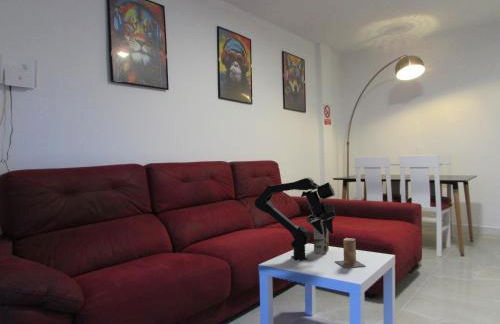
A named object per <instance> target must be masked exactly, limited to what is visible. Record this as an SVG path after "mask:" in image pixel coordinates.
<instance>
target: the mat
mask: <svg viewBox="0 0 500 324" xmlns="http://www.w3.org/2000/svg"><path fill="white" fill-rule="evenodd" d="M334 262H335V264H337V265H339V266H341V268H343V269H354V268H365V267H366V265H365V264H363V263H362V262H360V261H358V260H357V259H356V263H355V265H346V264H344V260H335V261H334Z"/></svg>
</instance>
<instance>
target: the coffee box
mask: <svg viewBox="0 0 500 324" xmlns="http://www.w3.org/2000/svg"><path fill="white" fill-rule="evenodd" d="M322 221H324V220H321V222H320V223H321V227H322V230H323V234H322V235H321V234H320V233H319V232H318V231H317V230H316V229H315V228H314V227H313V254H318V255H319V254H321V255H326V254H327V253H328V251H330V250H329V231H328V229H327V228H326V227H325V225H324V224H323V223H322Z"/></svg>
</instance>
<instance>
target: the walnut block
mask: <svg viewBox="0 0 500 324" xmlns="http://www.w3.org/2000/svg"><path fill="white" fill-rule="evenodd" d="M356 242H357V241H356V238H352V237H351V238H350V237H345V238H344V239H343V243H342V244H343V261H344V264H346V265H355V263H356V260H357V252H356V251H357V247H356V246H357V243H356Z"/></svg>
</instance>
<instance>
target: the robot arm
mask: <svg viewBox="0 0 500 324" xmlns="http://www.w3.org/2000/svg"><path fill="white" fill-rule="evenodd" d="M294 190H295V191H302V194H301V196H300V197H301V198H304V197H305V198H306V201H307V204H308V206H309V207H308V208H307V209H308V210H311V214H310V215H308V216H307V217H306V219H305V220H306V223H308V224H309V225H310V226H311V227H312V228H313V229H314V228H315V229H316V230H317V231H318V232H319V233H320V234H321V235H322V234H323V230H322V227H321V223H320V222H321V220H324V221H322V223H323V224H324V225H325V227H326V228H327V229H328V233H330V234H334V227H333V220H334V219H335V216H337V214H336V209H335V204H327V203H324V202H323V201H321V199H322V200H325V199H329V198H331V197H333V196H335V194H336V193H335V190H334V188H333V187H332V184H330V182H329V181H328V182H326V183H324V184H321V185H319V184H317V183H316V182H314V179H312V178H311V177H304V178H301V179H299V180H296V181H292V182H286V183H280V184H269V185H267V186H266V188H265V189H264V190H263V192H262V193H261V194H260V195H259V197H257V198H255V200H254V206H255V208H257V210H259V211H262V212H263V213H266V214H268V215H269V216H270V217H272V218H273V219H274V220H275V221H276V222H278V223H279V224H280V225H281V226H282V228H285V230H287V231H288V232H289V233H290V235H291V236H292V239H294V240H293V241H292V242H291V243H290V245H291V248H292V249H293V251H292V252H293V255H291V256H290V257H291V258H292V259H293V260H294V261H305V260H308V259H309V258H308V257H307V256H306V244H307V243H308V241H309V240H310V239H311V234H310V231H309V229H308V228H306V227H305V226H304V225H303V224H302V225H297V224H295V223H294V222H293V221H291V220H290V219H289V218H288V217H287V216H285V214H284V213H282V212H281V211H280V210H278V209H277V208H276V207H275V205H274V204H273V203H272V201H271V199H272V198H273V196H274V194H275V193H280V192H287V191H294ZM308 190H309V191H308ZM314 190H315V191H314Z"/></svg>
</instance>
